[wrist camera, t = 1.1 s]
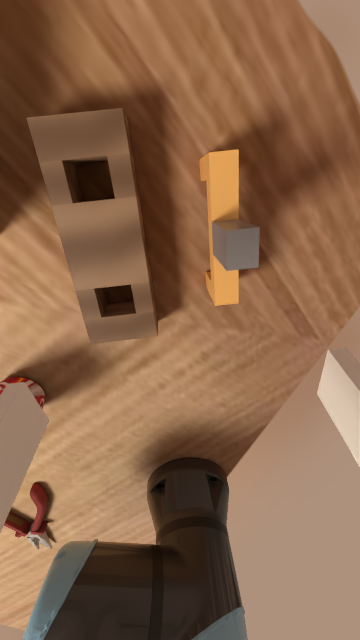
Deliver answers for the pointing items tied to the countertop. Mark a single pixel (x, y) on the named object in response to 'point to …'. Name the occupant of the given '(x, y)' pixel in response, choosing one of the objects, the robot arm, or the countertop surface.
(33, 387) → the soda can
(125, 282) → the brown slotted wooden block
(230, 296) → the orange bar with post
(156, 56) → the countertop surface
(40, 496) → the pliers
